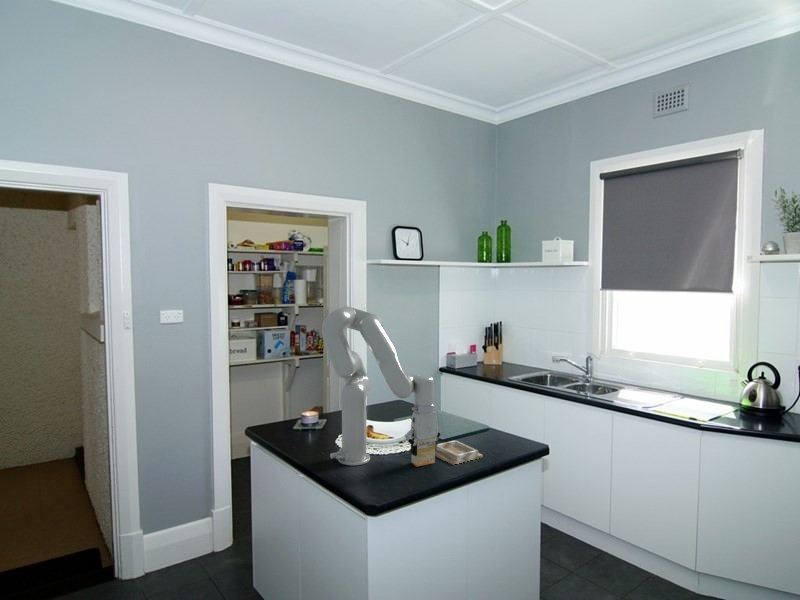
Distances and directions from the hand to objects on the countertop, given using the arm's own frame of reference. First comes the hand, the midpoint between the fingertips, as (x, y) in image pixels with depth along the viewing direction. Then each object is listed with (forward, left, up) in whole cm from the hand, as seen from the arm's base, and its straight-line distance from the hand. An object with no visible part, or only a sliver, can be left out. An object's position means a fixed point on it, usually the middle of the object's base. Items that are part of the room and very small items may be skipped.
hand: (423, 452), depth 192 cm
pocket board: (+16, 0, -4) cm, 16 cm away
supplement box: (0, 0, -5) cm, 5 cm away
